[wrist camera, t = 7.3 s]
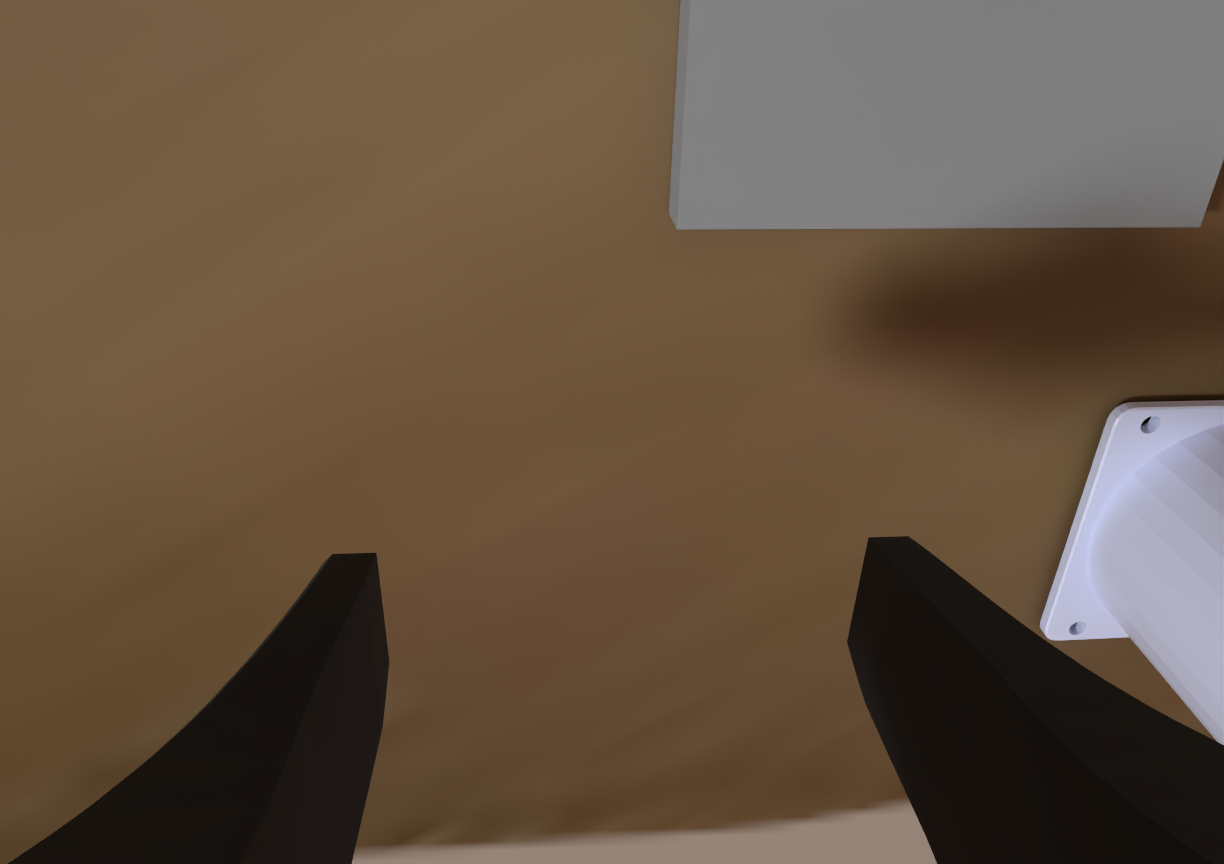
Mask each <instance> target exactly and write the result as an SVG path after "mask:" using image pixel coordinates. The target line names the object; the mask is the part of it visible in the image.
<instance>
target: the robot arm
mask: <svg viewBox="0 0 1224 864" xmlns="http://www.w3.org/2000/svg"><path fill="white" fill-rule="evenodd" d="M1148 417H1151V418H1150V420H1149V422H1147V423H1146V424H1145V425H1142V426H1141V424H1142V422H1143V421H1144V420H1145V419H1147V418H1148ZM1076 622H1077V623H1076ZM1074 623H1076V624H1074ZM1073 624H1074V625H1073ZM1071 625H1072V626H1071ZM1040 628H1041V630H1042V631H1043V633H1044V634H1045V636H1046V637H1047V638H1049V639H1050V640H1056V641H1058V640H1080V639H1101V638H1123V637H1130V638H1131V639H1132V640H1133V642H1134V643H1135V644H1136V645H1137V646H1138V648H1139V649H1140V650H1141V651H1142V652H1143V654H1144V655H1145V656H1146V657H1147V658H1148V660H1149V661H1150V662H1151V663H1152V664H1153V665H1154V667H1155V668H1156V669H1157V670H1158V671H1159V673H1160V674H1161V675H1162V676H1163V677H1164V679H1165V680H1166V681H1167V682H1168V683H1169V685H1170V686H1171V687H1172V688H1173V689H1174V691H1175V692H1176V693H1177V694H1178V695H1179V697H1180V698H1181V699H1182V700H1183V701H1184V703H1185V704H1186V705H1187V706H1188V707H1189V708H1190V710H1191V711H1192V712H1193V713H1194V714H1195V716H1196V717H1197V718H1198V719H1199V720H1200V722H1201V723H1202V724H1203V725H1204V726H1205V728H1206V729H1207V730H1208V731H1209V732H1210V734H1211V735H1212V736H1213V737H1214V738H1215V740H1216V741H1217V742H1216V741H1215V740H1213V739H1211V738H1209V737H1207V736H1205V735H1203V734H1201V733H1199V732H1197V731H1195V730H1193V729H1191V728H1189V727H1187V726H1185V725H1183V724H1181V723H1179V722H1177V721H1175V720H1173V719H1171V718H1170V717H1168V716H1166V715H1164V714H1162V713H1160V712H1159V711H1157V710H1155V709H1153V708H1151V707H1149V706H1148V705H1146V704H1144V703H1143V702H1141V701H1139V700H1138V699H1136V698H1134V697H1133V696H1131V695H1129V694H1127V693H1126V692H1124V691H1122V690H1121V689H1119V688H1117V687H1116V686H1114V685H1112V684H1111V683H1109V682H1107V681H1105V680H1104V679H1102V678H1101V677H1099V676H1098V675H1096V674H1094V673H1093V672H1091V671H1090V670H1088V669H1086V668H1085V667H1083V666H1082V665H1080V664H1079V663H1077V662H1076V661H1075V660H1073V659H1072V658H1070V657H1069V656H1067V655H1066V654H1064V653H1063V652H1061V651H1060V650H1058V649H1057V648H1055V647H1054V646H1053V645H1051V644H1050V643H1048V642H1047V641H1045V640H1044V639H1042V638H1041V637H1040V636H1038V635H1037V634H1035V633H1034V632H1033V631H1031V630H1030V629H1029V628H1027V627H1026V626H1024V625H1023V624H1022V623H1020V622H1019V621H1018V620H1016V619H1015V618H1014V617H1012V616H1011V615H1010V614H1008V613H1007V612H1006V611H1004V610H1003V609H1002V608H1000V607H999V606H998V605H997V604H995V603H994V602H993V601H991V600H990V599H989V598H987V597H986V596H985V595H984V594H982V593H981V592H980V591H978V590H977V589H976V588H975V587H973V586H972V585H971V584H970V583H968V582H967V581H966V580H964V579H963V578H962V577H961V576H959V575H958V574H957V573H956V572H954V571H953V570H952V569H951V568H949V567H948V566H947V565H945V564H944V563H943V562H942V561H940V560H939V559H938V558H937V557H935V556H934V555H933V554H931V553H930V552H929V551H928V550H926V549H925V548H924V547H922V546H921V545H920V544H918V543H917V542H915V541H914V540H913V539H911V538H910V537H908V536H905V537H873V538H868V543H867V548H866V553H865V557H864V562H863V567H862V572H861V577H860V582H859V587H858V592H857V596H856V601H855V606H854V611H853V616H852V621H851V626H850V631H849V635H848V640H847V643H848V647H849V650H850V654H851V657H852V661H853V664H854V668H855V671H856V675H857V678H858V681H859V684H860V688H861V691H862V694H863V697H864V700H865V703H866V705H867V708H868V710H869V712H870V715H871V717H872V719H873V721H874V724H875V726H876V728H877V730H878V733H879V735H880V737H881V739H882V741H883V744H884V746H885V748H886V750H887V752H888V755H889V757H890V759H891V761H892V763H893V766H894V768H895V770H896V772H897V774H898V776H899V779H900V781H901V783H902V785H903V787H904V789H905V792H906V794H907V796H908V798H909V800H910V802H911V805H912V807H913V809H914V811H915V813H916V815H917V817H918V820H919V822H920V824H921V826H922V828H923V831H924V833H925V835H926V837H927V840H928V842H929V845H930V847H931V849H932V852H933V854H934V857H935V859H936V862H937V864H1224V400H1208V401H1163V402H1129V403H1124V404H1122V405H1120V406H1118V407H1116V408H1115V409H1114V410H1113V411H1112V412H1111V413H1110V415H1109V417H1108V419H1107V421H1106V424H1105V427H1104V430H1103V433H1102V436H1101V439H1100V442H1099V445H1098V448H1097V452H1096V455H1095V458H1094V461H1093V464H1092V467H1091V470H1090V473H1089V476H1088V479H1087V482H1086V485H1085V488H1084V491H1083V494H1082V497H1081V500H1080V503H1079V506H1078V509H1077V512H1076V515H1075V518H1074V521H1073V524H1072V527H1071V530H1070V533H1069V537H1068V540H1067V543H1066V546H1065V549H1064V552H1063V555H1062V558H1061V561H1060V564H1059V567H1058V570H1057V573H1056V576H1055V579H1054V582H1053V585H1052V588H1051V591H1050V594H1049V597H1048V600H1047V603H1046V606H1045V609H1044V612H1043V615H1042V618H1041V621H1040ZM388 668H389V656H388V647H387V639H386V630H385V622H384V614H383V605H382V597H381V589H380V580H379V572H378V564H377V555H376V553H356V554H332V555H331V556H330V557H329V558H328V559H327V560H326V561H325V562H324V563H323V565H322V566H321V568H320V569H319V570H318V572H317V573H316V575H315V576H314V577H313V579H312V580H311V581H310V583H309V584H308V586H307V587H306V588H305V590H304V591H303V592H302V594H301V595H300V596H299V598H298V599H297V600H296V602H295V603H294V604H293V605H292V607H291V608H290V609H289V611H288V612H287V613H286V614H285V616H284V617H283V618H282V620H281V621H280V622H279V623H278V624H277V626H276V627H275V628H274V629H273V631H272V632H271V633H270V634H269V635H268V637H267V638H266V639H265V640H264V641H263V643H262V644H261V645H260V646H259V647H258V649H257V650H256V651H255V652H254V653H253V655H252V656H251V657H250V658H249V659H248V660H247V662H246V663H245V664H244V665H243V666H242V667H241V668H240V669H239V670H238V671H237V672H236V674H235V675H234V676H233V677H232V678H231V679H230V680H229V681H228V682H227V683H226V684H225V685H224V687H223V688H222V689H221V690H220V691H219V692H218V693H217V694H216V695H215V696H214V697H213V698H212V700H211V701H210V702H209V703H208V704H207V705H206V706H205V707H204V708H203V709H202V710H201V711H200V712H199V713H198V714H197V715H196V716H195V717H194V718H193V719H192V720H191V721H190V722H189V723H188V724H186V725H185V726H184V727H183V728H182V729H181V730H180V731H179V732H178V733H177V734H176V735H175V736H174V737H173V738H172V739H170V740H169V741H168V742H167V743H166V744H165V745H164V746H163V747H162V748H161V749H160V750H158V751H157V752H156V753H155V754H154V755H153V756H152V757H151V758H149V759H148V760H147V761H146V762H145V763H143V764H142V765H141V766H140V767H139V768H137V769H136V770H135V771H134V772H133V773H131V774H130V775H129V776H128V777H126V778H125V779H124V780H123V781H121V782H120V783H119V784H118V785H116V786H115V787H114V788H112V789H111V790H110V791H109V792H107V793H106V794H105V795H104V796H102V797H101V798H100V799H99V800H97V801H96V802H95V803H94V804H92V805H91V806H90V807H89V808H87V809H86V810H84V811H83V812H82V813H80V814H79V815H78V816H76V817H75V818H73V819H72V820H71V821H69V822H68V823H66V824H65V825H64V826H62V827H61V828H60V829H58V830H57V831H55V832H54V833H53V834H51V835H50V836H48V837H47V838H45V839H44V840H42V841H41V842H39V843H38V844H36V845H35V846H33V847H32V848H30V849H29V850H27V851H26V852H25V853H23V854H22V855H20V856H19V857H17V858H16V859H14V860H13V861H11V862H10V863H8V864H352V859H353V855H354V850H355V846H356V842H357V837H358V833H359V829H360V824H361V820H362V815H363V811H364V807H365V802H366V798H367V794H368V789H369V785H370V781H371V776H372V772H373V767H374V763H375V758H376V754H377V749H378V745H379V740H380V736H381V731H382V726H383V718H384V708H385V699H386V689H387V679H388Z"/></svg>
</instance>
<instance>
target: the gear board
mask: <svg viewBox="0 0 1224 864" xmlns="http://www.w3.org/2000/svg"><path fill="white" fill-rule="evenodd" d="M1223 160H1224V0H681V2H680V20H679V38H678V56H677V75H676V93H675V111H674V129H673V147H672V165H671V184H670V202H669V214H670V216H671V219H672V221H673V223H674V225H675V227H676V229H880V228H1119V227H1200V226H1201V224H1202V221H1203V218H1204V215H1205V212H1206V209H1207V206H1208V203H1209V200H1210V198H1211V195H1212V192H1213V189H1214V186H1215V183H1216V180H1217V177H1218V174H1219V171H1220V169H1221V166H1222V163H1223Z"/></svg>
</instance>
